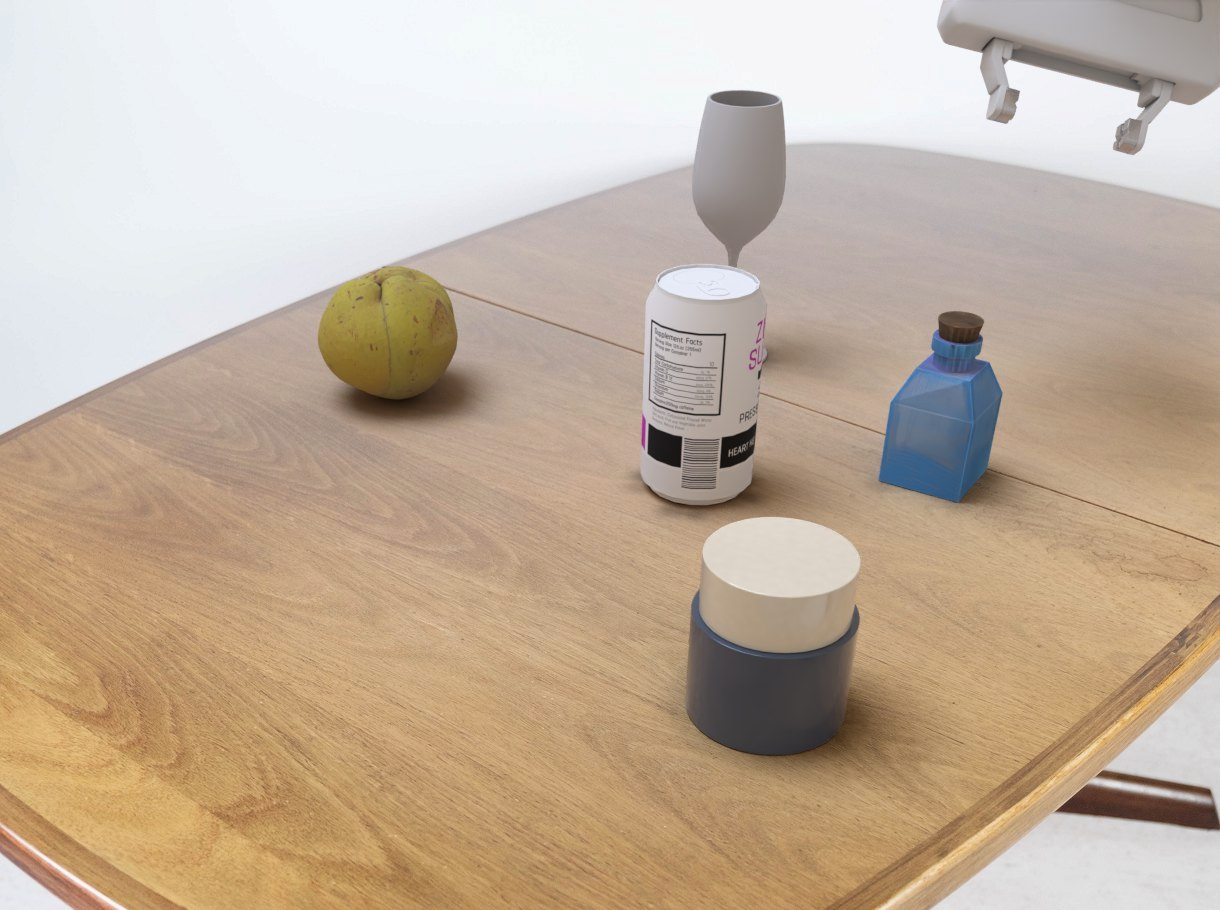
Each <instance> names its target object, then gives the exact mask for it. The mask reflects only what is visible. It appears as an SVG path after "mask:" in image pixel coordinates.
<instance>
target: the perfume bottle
mask: <svg viewBox="0 0 1220 910" xmlns="http://www.w3.org/2000/svg"><path fill="white" fill-rule="evenodd" d="M937 321H938V322H937V323H938V329H936V330H934V331H933V333H932V339H931V344H930V348H931V350H932V351H933V352H932V353H931V354H930V355H928V357H926V358H925V359H924V360H923V361H922V362H921V363H920V364H919V365H918V366H916V367H915V369H914V370H913V371H912V373H911V374H910V375H909V377H908V378H907V379H906V381H905V382H904V383H903V385H902V386H901V388H900V389H899V390H898V392H897V393H896V394H895V396H894V397H893V398H892V400H891V401H890V403H889V409H888V416H887V421H886V428H885V433H884V434H885V435H884V442H883V448H882V454H881V461H880V466H879V467H880V468H879V473H878V481H879V482H883V483H886V484H890V485H893V486H897V487H901V488H903V489H908V490H911V491H914V492H919V493H923V494H926V495H929V496H933V497H937V498H939V499H943V500H948V501H950V502H955V503H959V502H960V501H961V500H962V499H963V498H964V496H965V495H966V494H967V493H968V492H969V491H970V490H971V488H972V487H973V486H974V485H975V484H976V483H977V482H978V481H979V479H980V478H981V477H982V476H983V475H984V474H985V473H986V472H987V470H988V466H989V460H990V456H991V451H992V447H993V442H994V437H995V432H996V427H997V423H998V417H999V413H1000V409H1001V408H1000V407H1001V403H1002V399H1003V390H1002V388H1001V386H1000V384H999V381H998V379H997V376H996V374H995V372H994V369H993V367H992V364H991V362H990V361H987V360H983V359H978V358H977V357H978V356H979V355H981V352H982V348H983V342H984V337H983V335H982V334H981V331H982V329H983V326H984V324H985V320H984V318H982V316H980V315H978V314H976V313H973V312H968V311H961V310H953V311H952V310H951V311H945V312H941V313H939V315H938V317H937Z"/></svg>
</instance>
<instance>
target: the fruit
mask: <svg viewBox="0 0 1220 910" xmlns="http://www.w3.org/2000/svg"><path fill="white" fill-rule="evenodd" d="M458 338H459V337H458V329H457V324H456V319H455V313H454V308H453V303H452V301H451V298H450V296H449V294H448V292H447V291H446V289H445V288H444V286H443V285H442V284H441V283H440V282H439V281H437V279H435V278H433V277H432V276H430V275H429V274H427V273H425V272H422V271H419V270H416V269H414V268H409V267H404V266H386V267H382V268H380V269H376V270H373V271H370V272H369V273H366V274H364V275H363V276H362V277H360V278H355V279H351V280H347V281H345V283H343V284H341V286H339V287H338V288H337V290H336V291H335V292H334V294H333V295H332V297H331V298H330V300H329V301H328V303H327V306H326V307H325V310H324V311H323V313H322V315H321V319H320V322H319V325H318V331H317V344H318V349H319V352H320V354H321V356H322V359H323V361H324V363H325V364H326V366H327V368H328V369H329V370H330V371H331V373H332V374H333V375H334V376H335V377H336V378H338V379H339V380H340V381H341V382H343V383H345V384H346V385H349V386H351V387H352V388H355V389H357V390H359V391H362V392H365V393H367V394H369V395H372V396H375V397H379V398H384V399H388V400H406V399H411V398H414V397H417V396H419V395H421V394H422V393H425V392H426V391H427V390H429V389H430V388H432V387H433V386H434V384H436V383H437V381H439V380H440V378H442V376H443V375H444V374H445V373H446V371H447V369H448V367H449V366H450V364H451V362H452V360H453V357H454V355H455V353H456V351H457V347H458Z"/></svg>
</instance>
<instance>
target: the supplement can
mask: <svg viewBox="0 0 1220 910" xmlns="http://www.w3.org/2000/svg"><path fill="white" fill-rule="evenodd" d="M645 301H646V302H645V313H644V315H645V317H644V345H643V346H644V348H643V376H642V377H643V378H642V379H643V380H642V381H643V382H642V409H641V410H642V411H641V443H640V476H641V478H642V480H643V482H644V483H645V484H646V485H647V486H648V487H650V490H651V491H652V492H654V493H655V494H656V495H658V496H659V497H660V498H663V499H665V500H668V501H670V502H673V503H678V504H684V505H689V506H709V505H716V504H721V503H722V504H723V503H725V502H727V501H730V500H732V499H735V498H736V497H738V495H740V493H742V492H743V491H744V490H746V489H747V487H748V486H750V485H751V484H752V479H753V473H754V459H755V450H756V449H755V448H756V439H757V426H758V416H759V415H758V413H759V403H760V393H761V380H762V369H763V362H762V359H763V348H764V347H765V337H766V336H765V335H766V325H767V324H766V323H767V314H768V313H767V311H768V303H767V300H766V298H765V295H764V293H763V291H762V289H761V281H760V280H759V279H758V277H757V276H756V274H755V275H754V273H751V272H749V271H748V270H747V271H746V270H745V269H741V268H738V267H737V268H734V267H731V266H728V265H723V264H716V263H692V264H684V265H677V266H674V267H671V268H666V269H665V270H663V271H661V272H660V273H659V274H657V276H656V280H655V284H654V286H653V287H652V289H651V291H650V293H649V294H648V297H647V298H646V300H645Z"/></svg>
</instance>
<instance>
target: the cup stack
mask: <svg viewBox="0 0 1220 910" xmlns="http://www.w3.org/2000/svg"><path fill="white" fill-rule="evenodd" d="M701 551H702V552H701V563H700V575H699V576H700V577H699V588H698V590H697V591H696V592H695V594H694V596H693V597H692V600H691V605H690V617H689V618H690V619H689V634H688V635H689V637H688V651H687V666H686V668H687V669H686V680H685V681H686V682H685V685H686V686H685V699H684V700H685V701H684V705H685V709H686V713H687V715H688V717H689V719H690V721H691V722H692V723H693V725H694V726H695V727H696V728H697V729H698V730H699V731H700V732H701V733H703V734H704V735H705V736H707V737H708V738H709V739H710V740H712V741H715V742H717V743H718V744H720V745H723V746H726V747H727V748H730V749H733V750H736V751H739V752H743V753H749V754H753V755H762V756H787V755H795V754H799V753H803V752H807V751H810V750H813V749H816V748H818V747H820V746H822V745H824V744H826V743H827V742H829V741H831V739H832V738H834V737H835V736H836V735H837V734H838V732H840V730H841V729H842V727H843V724H844V722H845V718H846V715H847V714H846V713H847V707H848V701H849V696H850V695H849V694H850V688H851V683H852V682H851V681H852V676H853V669H854V663H855V656H856V650H857V644H858V643H857V642H858V637H859V636H858V635H859V630H860V624H861V616H860V611H859V608H858V606H857V604H856V600H857V599H856V598H857V594H858V586H859V580H860V573H861V566H862V561H861V556H860V553H859V551H858V549H857V548H856V547H855V545H854V544H853V543H852V542H851V541H850V540H849V539H848V538H846V536H844V535H842V534H841V533H839V532H837V531H835V530H834V529H831V528H829V527H828V526H826V525H825V526H824V525H822V524H819V523H816V522H813V521H809V520H804V519H799V518H793V517H784V516H760V517H759V516H758V517H751V518H745V519H741V520H736V521H733V522H730V523H728V524H725V525H723V526H721V527H719V528H717V529H716V530H715V531H713V532H712V533H711V534H710V535H709V536H708V538H706V540H705V541H704V544H703V545H702V550H701Z"/></svg>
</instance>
